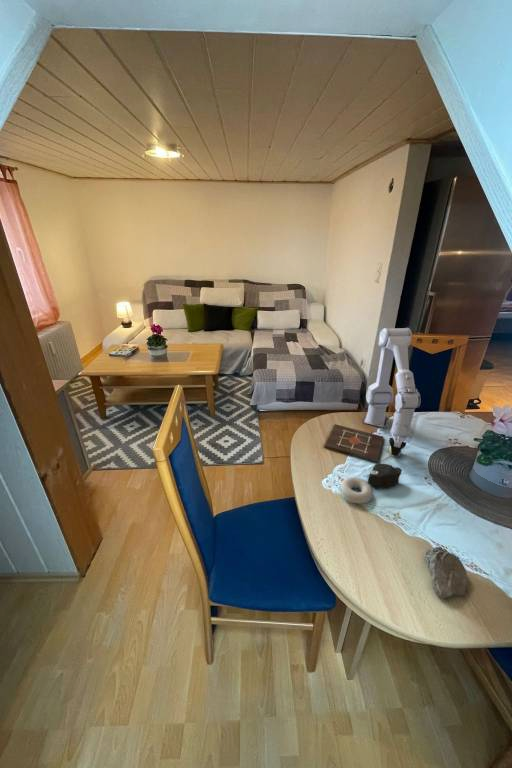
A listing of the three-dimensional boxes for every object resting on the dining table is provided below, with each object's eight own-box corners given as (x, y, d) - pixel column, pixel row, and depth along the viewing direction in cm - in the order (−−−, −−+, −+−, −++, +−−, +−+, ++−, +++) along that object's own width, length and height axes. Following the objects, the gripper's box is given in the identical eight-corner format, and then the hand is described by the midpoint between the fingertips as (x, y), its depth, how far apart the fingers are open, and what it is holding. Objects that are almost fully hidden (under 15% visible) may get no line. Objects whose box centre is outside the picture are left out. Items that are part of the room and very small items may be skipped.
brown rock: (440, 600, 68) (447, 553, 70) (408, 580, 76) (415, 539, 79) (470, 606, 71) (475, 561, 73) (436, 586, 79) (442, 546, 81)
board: (334, 426, 132) (335, 424, 131) (383, 438, 123) (383, 436, 123) (324, 447, 119) (324, 444, 119) (377, 463, 111) (378, 460, 110)
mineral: (394, 498, 96) (397, 485, 94) (365, 487, 101) (367, 474, 98) (399, 479, 104) (403, 466, 101) (372, 469, 108) (375, 456, 106)
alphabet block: (392, 457, 114) (393, 450, 112) (388, 451, 116) (389, 445, 115) (400, 456, 114) (401, 450, 112) (396, 451, 117) (397, 444, 115)
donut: (343, 479, 104) (336, 499, 96) (344, 471, 103) (338, 491, 95) (373, 488, 100) (369, 510, 92) (375, 480, 99) (371, 502, 91)
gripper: (413, 435, 101) (404, 466, 107) (415, 414, 112) (407, 443, 118) (390, 430, 104) (383, 460, 110) (395, 410, 115) (388, 438, 121)
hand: (394, 451), depth 114 cm, fingers closed on alphabet block, 4 cm apart
